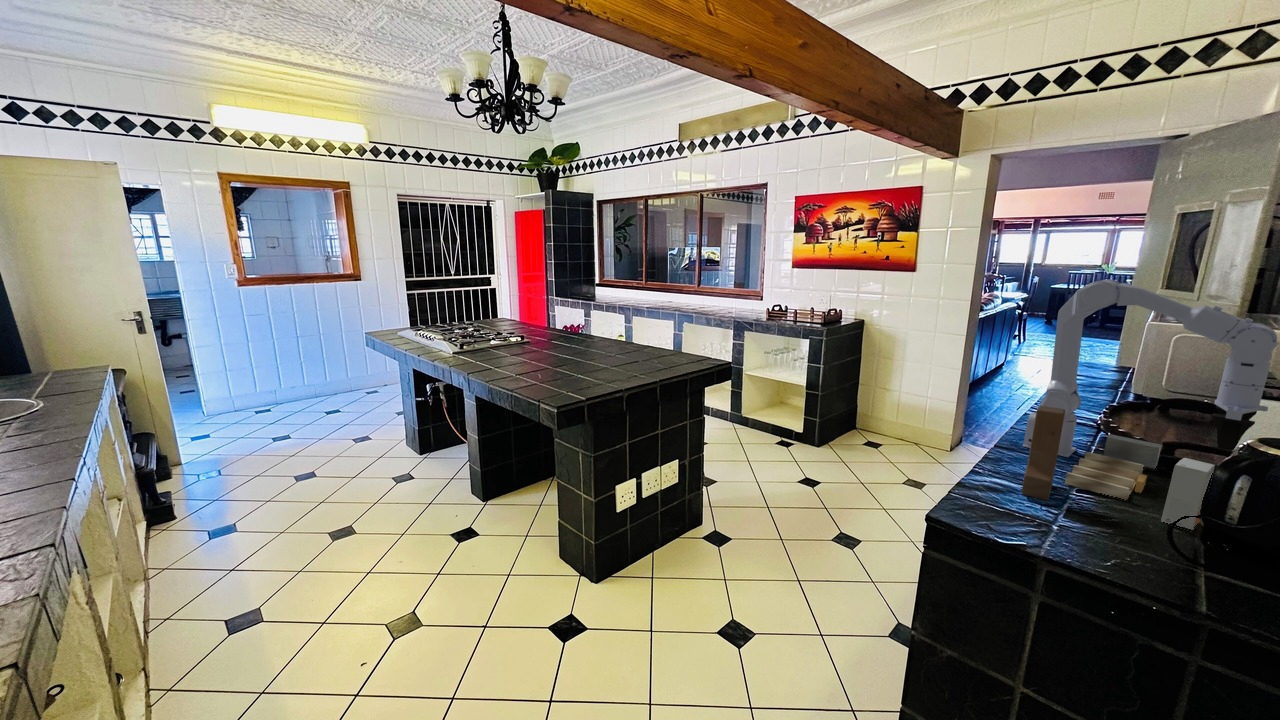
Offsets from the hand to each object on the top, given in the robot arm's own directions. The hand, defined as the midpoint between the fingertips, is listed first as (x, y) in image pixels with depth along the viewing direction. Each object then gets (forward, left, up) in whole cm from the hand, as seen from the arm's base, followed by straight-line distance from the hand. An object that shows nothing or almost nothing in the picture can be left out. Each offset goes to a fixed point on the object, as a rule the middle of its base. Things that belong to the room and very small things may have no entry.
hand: (1226, 444), depth 104 cm
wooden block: (-24, -30, -10) cm, 40 cm away
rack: (-16, -12, -10) cm, 23 cm away
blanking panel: (-14, +3, -10) cm, 18 cm away
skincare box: (-3, -25, -10) cm, 27 cm away
